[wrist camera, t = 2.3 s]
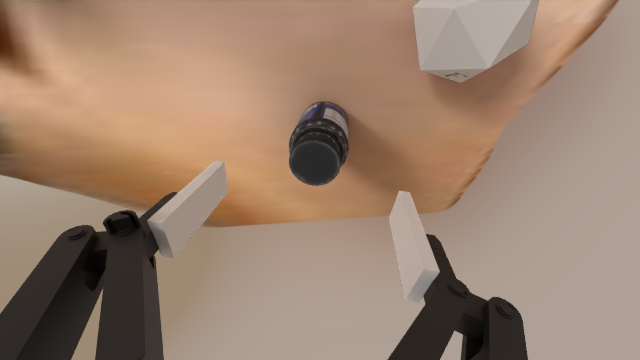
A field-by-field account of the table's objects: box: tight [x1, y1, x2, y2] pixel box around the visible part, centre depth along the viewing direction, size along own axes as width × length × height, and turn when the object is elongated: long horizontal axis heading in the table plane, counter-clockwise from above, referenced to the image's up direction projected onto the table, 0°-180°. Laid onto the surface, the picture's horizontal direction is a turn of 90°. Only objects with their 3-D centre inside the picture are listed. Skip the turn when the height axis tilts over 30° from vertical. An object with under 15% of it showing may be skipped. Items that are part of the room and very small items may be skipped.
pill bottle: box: [289, 102, 349, 186], centre depth 25 cm, size 6×6×11 cm
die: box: [413, 0, 539, 83], centre depth 19 cm, size 8×9×10 cm
